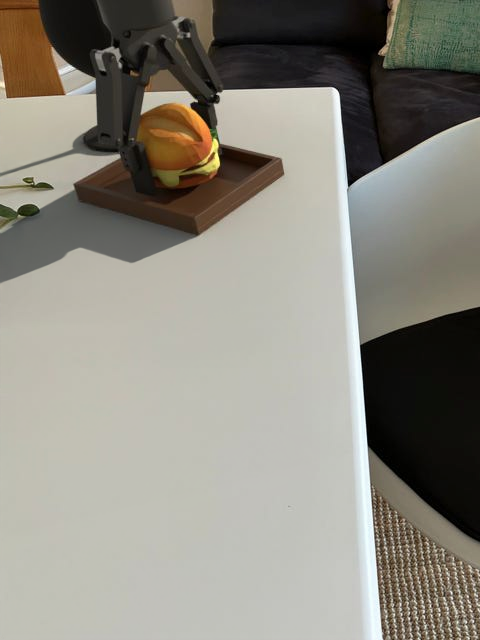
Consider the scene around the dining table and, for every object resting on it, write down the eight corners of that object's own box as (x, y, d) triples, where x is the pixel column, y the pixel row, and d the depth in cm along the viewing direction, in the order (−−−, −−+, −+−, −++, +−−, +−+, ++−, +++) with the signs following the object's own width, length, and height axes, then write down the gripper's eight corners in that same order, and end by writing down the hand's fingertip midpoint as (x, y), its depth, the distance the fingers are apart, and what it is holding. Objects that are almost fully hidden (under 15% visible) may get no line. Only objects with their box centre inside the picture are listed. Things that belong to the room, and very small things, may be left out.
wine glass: (85, 157, 104) (30, -1, 91) (81, 127, 111) (29, -24, 98) (166, 144, 107) (123, -11, 94) (156, 115, 115) (116, -32, 102)
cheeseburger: (220, 148, 103) (206, 82, 95) (232, 202, 97) (218, 138, 89) (139, 158, 100) (118, 91, 92) (147, 215, 95) (124, 149, 87)
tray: (78, 200, 95) (72, 183, 94) (172, 146, 107) (168, 130, 105) (199, 235, 90) (194, 218, 88) (284, 174, 101) (281, 158, 99)
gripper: (69, 19, 73) (135, 223, 88) (229, -39, 89) (263, 140, 104) (12, 9, 76) (85, 208, 90) (178, -46, 92) (218, 130, 106)
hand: (180, 172), depth 97 cm, fingers closed on cheeseburger, 11 cm apart
